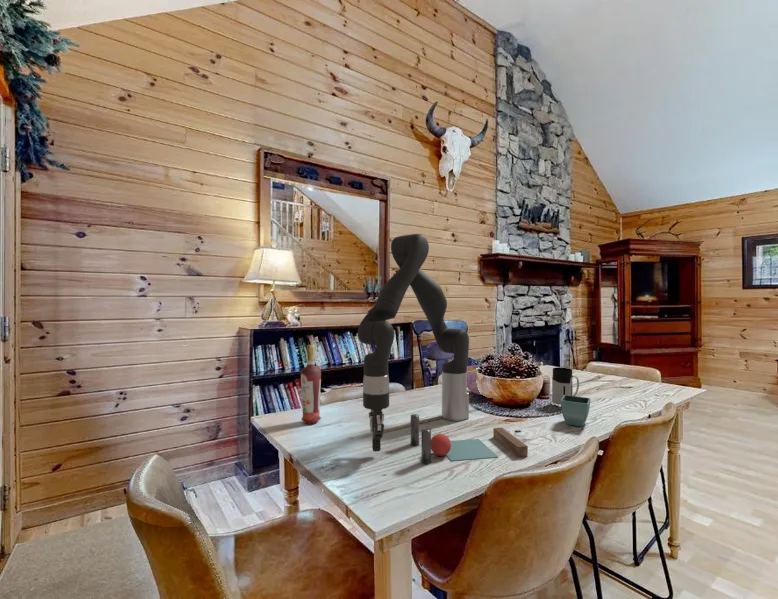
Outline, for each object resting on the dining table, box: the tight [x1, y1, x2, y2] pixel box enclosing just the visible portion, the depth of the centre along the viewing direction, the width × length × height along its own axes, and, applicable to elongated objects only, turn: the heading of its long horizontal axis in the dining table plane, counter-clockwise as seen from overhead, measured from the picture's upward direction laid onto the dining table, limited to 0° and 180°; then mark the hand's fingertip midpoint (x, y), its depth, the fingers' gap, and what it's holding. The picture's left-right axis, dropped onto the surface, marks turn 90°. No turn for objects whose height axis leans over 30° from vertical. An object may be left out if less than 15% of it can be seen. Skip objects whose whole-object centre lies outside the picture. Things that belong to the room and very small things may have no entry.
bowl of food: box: [467, 365, 480, 396], centre depth 182 cm, size 20×20×12 cm
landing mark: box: [445, 438, 499, 462], centre depth 118 cm, size 14×14×1 cm
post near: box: [421, 428, 432, 465], centre depth 109 cm, size 3×3×9 cm
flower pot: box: [560, 395, 591, 427], centre depth 141 cm, size 9×9×9 cm
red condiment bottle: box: [300, 344, 322, 425], centre depth 143 cm, size 7×7×28 cm
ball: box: [431, 433, 451, 457], centre depth 114 cm, size 6×6×6 cm
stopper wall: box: [492, 427, 529, 458], centre depth 120 cm, size 3×16×3 cm, turn 10°
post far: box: [410, 413, 420, 447], centre depth 122 cm, size 3×3×9 cm
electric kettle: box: [551, 366, 580, 404], centre depth 162 cm, size 9×14×15 cm, turn 12°
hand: (376, 450), depth 113 cm, fingers closed
